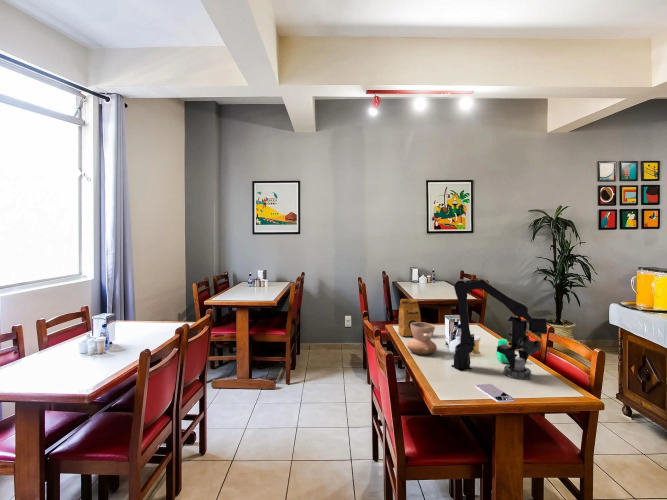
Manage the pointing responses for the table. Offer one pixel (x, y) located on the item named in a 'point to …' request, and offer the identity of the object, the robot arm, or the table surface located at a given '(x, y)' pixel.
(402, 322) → the coffee package
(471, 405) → the table surface
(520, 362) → the cap
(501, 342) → the camera mount
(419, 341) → the ceramic jug
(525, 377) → the dark grey ashtray
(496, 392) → the mobile phone
